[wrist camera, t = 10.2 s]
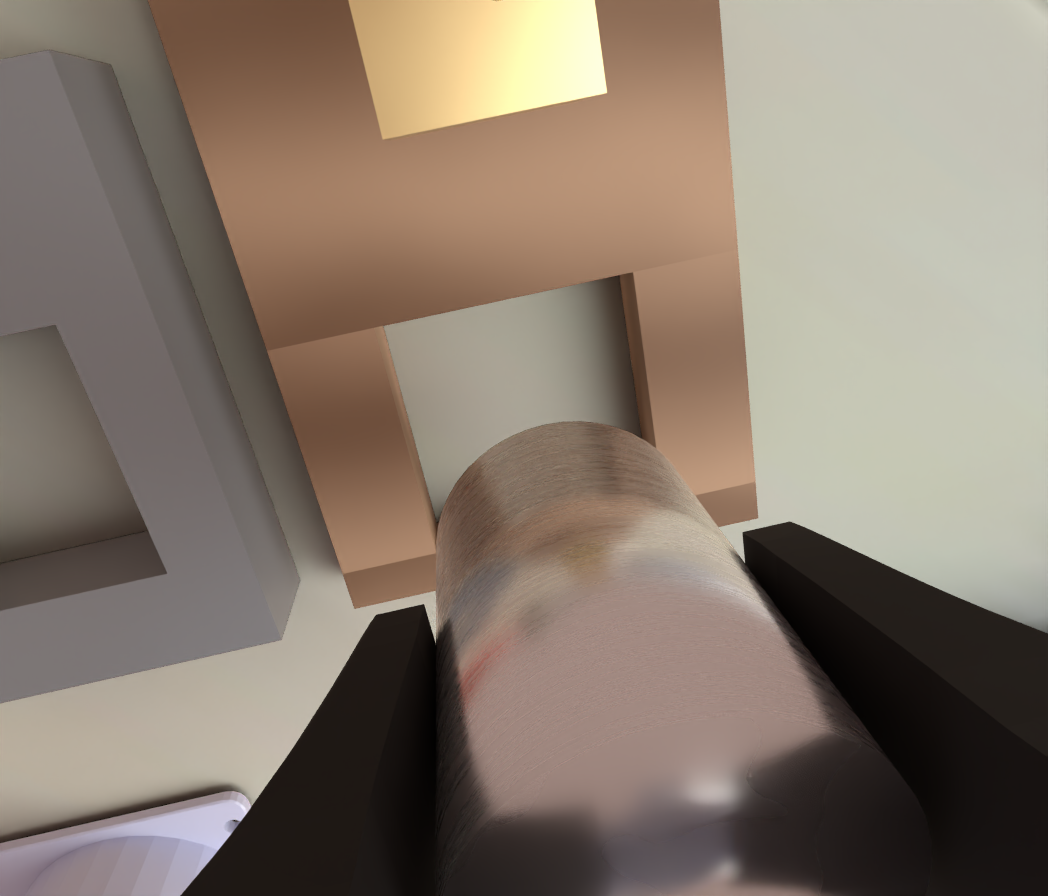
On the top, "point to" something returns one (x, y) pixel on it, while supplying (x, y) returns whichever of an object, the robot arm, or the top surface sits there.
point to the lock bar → (475, 59)
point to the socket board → (468, 243)
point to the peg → (638, 698)
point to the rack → (125, 403)
